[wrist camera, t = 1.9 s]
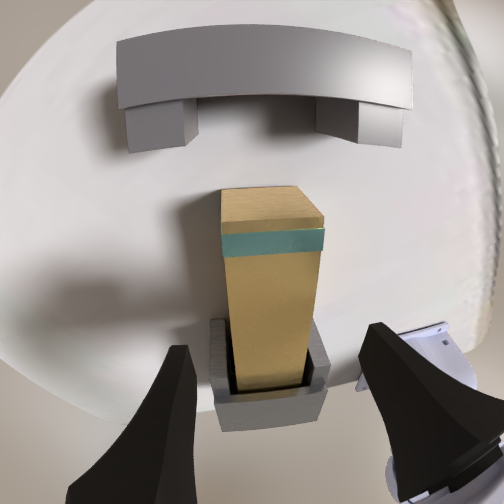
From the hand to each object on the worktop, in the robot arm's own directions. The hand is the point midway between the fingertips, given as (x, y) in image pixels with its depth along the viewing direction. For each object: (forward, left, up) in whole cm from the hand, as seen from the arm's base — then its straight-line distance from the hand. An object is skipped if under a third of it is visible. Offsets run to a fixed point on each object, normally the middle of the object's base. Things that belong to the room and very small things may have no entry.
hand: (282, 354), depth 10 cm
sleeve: (0, +8, -7) cm, 11 cm away
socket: (0, -9, -7) cm, 12 cm away
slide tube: (0, +3, -7) cm, 8 cm away
